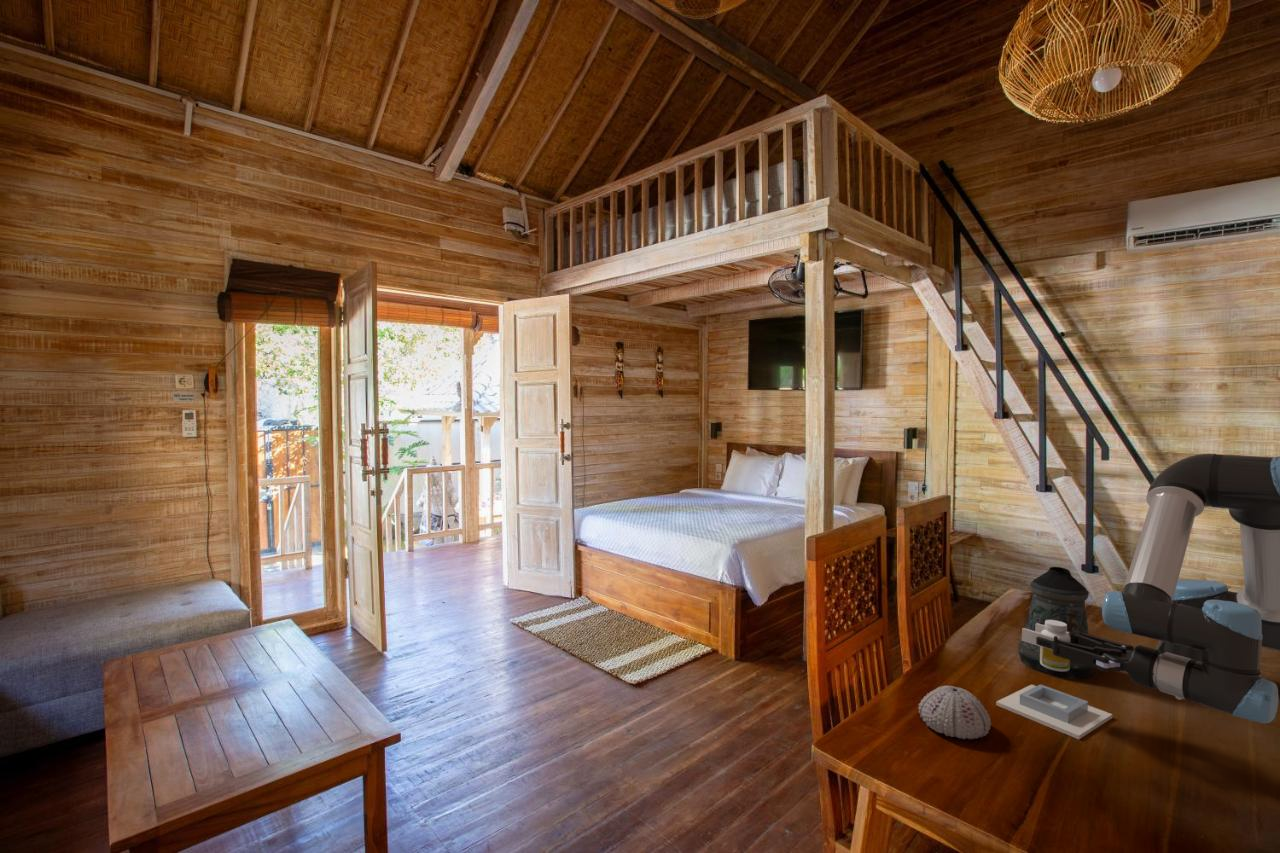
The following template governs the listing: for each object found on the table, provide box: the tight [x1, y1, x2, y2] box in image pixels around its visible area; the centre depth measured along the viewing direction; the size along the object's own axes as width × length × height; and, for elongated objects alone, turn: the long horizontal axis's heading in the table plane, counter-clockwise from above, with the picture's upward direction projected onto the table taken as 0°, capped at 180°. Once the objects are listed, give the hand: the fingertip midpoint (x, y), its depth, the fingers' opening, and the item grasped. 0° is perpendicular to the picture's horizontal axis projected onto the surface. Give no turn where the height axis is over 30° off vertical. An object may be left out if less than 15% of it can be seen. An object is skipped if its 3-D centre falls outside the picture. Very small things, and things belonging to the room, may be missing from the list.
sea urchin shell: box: [917, 685, 992, 740], centre depth 124 cm, size 13×14×8 cm
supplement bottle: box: [1040, 620, 1071, 671], centre depth 130 cm, size 5×5×10 cm
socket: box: [995, 684, 1113, 740], centre depth 131 cm, size 16×16×3 cm
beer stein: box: [1017, 566, 1095, 680], centre depth 155 cm, size 16×19×25 cm
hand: (1029, 631), depth 134 cm, fingers closed on supplement bottle, 5 cm apart
